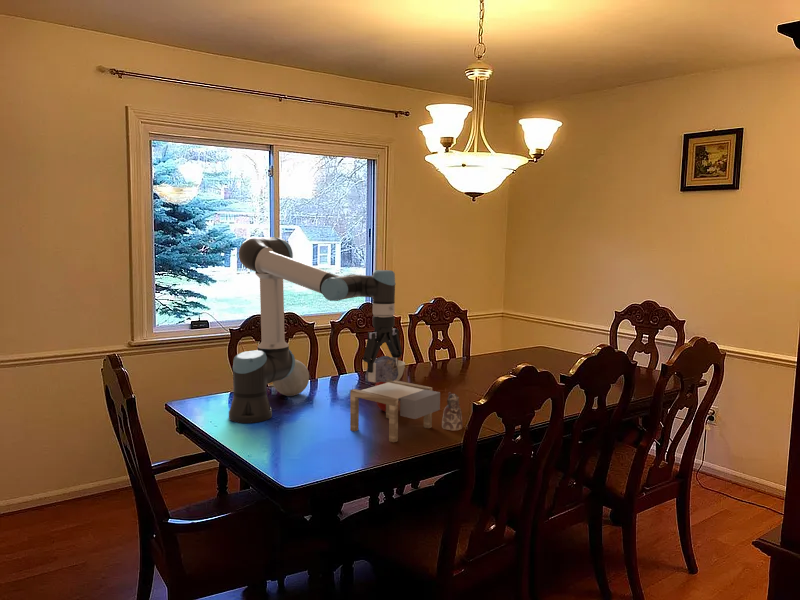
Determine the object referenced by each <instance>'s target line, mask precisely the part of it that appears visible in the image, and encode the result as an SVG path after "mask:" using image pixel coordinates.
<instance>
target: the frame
mask: <svg viewBox="0 0 800 600" xmlns="http://www.w3.org/2000/svg"><path fill="white" fill-rule="evenodd" d="M386 383H388V382H386ZM389 383H394V384H399V385H404V386H409V387H414V388H419V389H423V390H431V391H433V386H432V387H431V386H426V385H421V384H417V383H411V382H407V381H406V382H405V381H401V380H399V381H397V380H395V381H390V382H389ZM362 390H363V389H356V388H353V389H350V395H349V396H350V397H349V398H350V408H349V409H350V411H349V413H350V414H349V415H350V418H349V421H350V426H349V428H350V431H352V432H356V431H359V429H360V428H359V427H360V425H359V423H360V422H359V421H360V420H359V419H360V413H359V412H360V408H359V407H360V399H363V400H366V401H371V402H375V403H377V402H379V403H383V404H386V412H385V418H386V419H388V441H389V442H390V443H396V442H398V441H399V440H398V439H399V438H398V437H399V434H398V433H399V432H398V431H399V403H398V399H397V398H393V397H388V396H384V395H379V394H375V393H370V392H366V391H362ZM432 421H433V413H430V414H427V415H425V416H423V428H425V429H430V428H432V425H433V424H432V423H433V422H432Z"/></svg>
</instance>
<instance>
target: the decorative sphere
mask: <svg viewBox="0 0 800 600" xmlns="http://www.w3.org/2000/svg"><path fill="white" fill-rule="evenodd" d="M309 381H310V371H309V370H308V367H307V366H306V364H304V363H303V362H302V361H301V360H298V359H295V367H294V370H293V371H292V373H291V374H290V375H289V376H287V377H285V378H284V379H282V380H279V381H274V382H272V385H273V387H274V388H275V390H276V391H277V392H278V393H280V394H281V395H283V396H285V397H286V396H287V397H294V396H297V395H299V394H301V393H302V392H304V391H305V390H306V389H307V387H308V384H309Z"/></svg>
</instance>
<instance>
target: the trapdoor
mask: <svg viewBox="0 0 800 600" xmlns="http://www.w3.org/2000/svg"><path fill="white" fill-rule="evenodd" d="M361 390H362V391H366V392H370V393H375V394H379V395H384V396H388V397H393V398H397V399H398V401H399V405H400V406H399V416H400V417H404V418H408V419H413V420H416V419H420V418H422V417H424V416H425V415H427V414H430V413H432V414H433V413H436V412H438V411H440V410H441V392H440V391H436V390H435V391H434V390H432V391H431V390H423V389H419V388H414V387H409V386H404V385H399V384H394V383H389V382H388V383H385V384H381V385H378V386H375V385H374V386H371V387H368V388H364V389H361Z"/></svg>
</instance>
